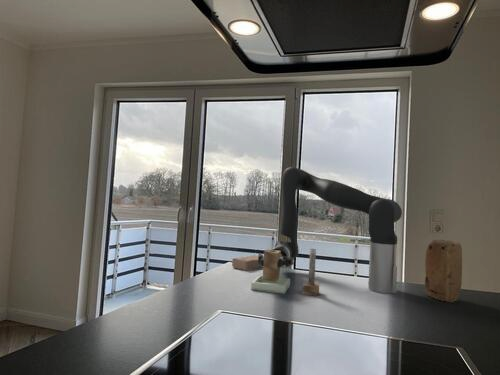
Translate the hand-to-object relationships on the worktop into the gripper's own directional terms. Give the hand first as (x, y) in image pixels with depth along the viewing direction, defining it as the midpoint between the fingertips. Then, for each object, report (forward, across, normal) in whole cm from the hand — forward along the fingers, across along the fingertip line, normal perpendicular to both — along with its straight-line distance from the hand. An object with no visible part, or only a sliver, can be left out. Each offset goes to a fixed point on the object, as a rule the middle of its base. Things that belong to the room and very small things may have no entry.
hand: (270, 263), depth 124 cm
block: (-14, +57, +9) cm, 60 cm away
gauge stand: (-1, +14, +9) cm, 17 cm away
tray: (-2, 0, +9) cm, 9 cm away
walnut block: (-3, 0, +6) cm, 7 cm away
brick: (-34, -16, +10) cm, 38 cm away
